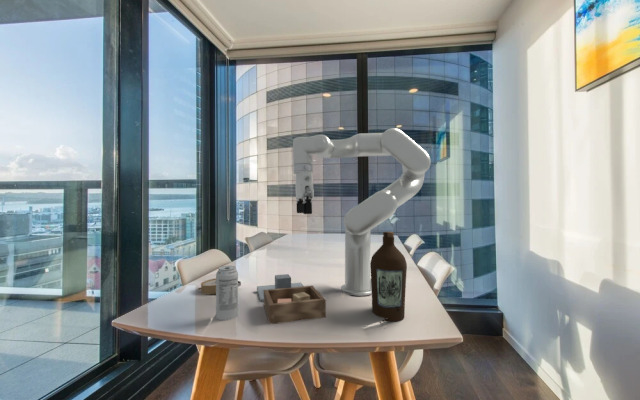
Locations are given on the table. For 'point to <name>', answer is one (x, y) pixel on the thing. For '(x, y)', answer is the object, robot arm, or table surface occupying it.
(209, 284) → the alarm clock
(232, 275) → the energy drink can
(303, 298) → the maple block
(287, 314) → the box
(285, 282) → the lid
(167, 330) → the table surface
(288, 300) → the terracotta block
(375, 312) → the olive oil
